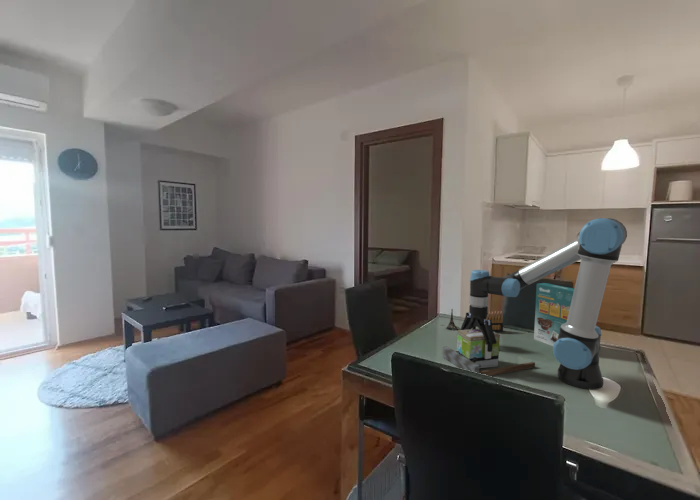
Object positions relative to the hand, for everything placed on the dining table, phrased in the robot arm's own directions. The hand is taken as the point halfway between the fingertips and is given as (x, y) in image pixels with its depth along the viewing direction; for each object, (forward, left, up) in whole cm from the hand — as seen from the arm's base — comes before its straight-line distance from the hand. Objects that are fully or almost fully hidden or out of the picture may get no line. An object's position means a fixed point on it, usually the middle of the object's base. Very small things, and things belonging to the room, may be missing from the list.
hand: (477, 352), depth 151 cm
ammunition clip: (+33, -38, -6) cm, 51 cm away
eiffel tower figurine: (+44, -19, -6) cm, 48 cm away
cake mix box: (+5, -53, -5) cm, 54 cm away
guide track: (0, -6, -5) cm, 8 cm away
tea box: (0, 0, -6) cm, 6 cm away
